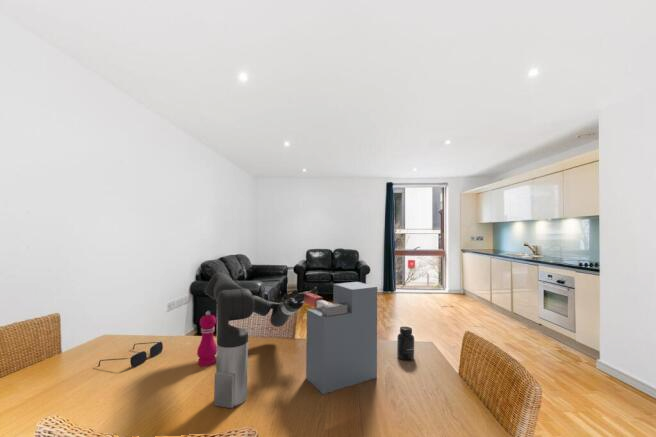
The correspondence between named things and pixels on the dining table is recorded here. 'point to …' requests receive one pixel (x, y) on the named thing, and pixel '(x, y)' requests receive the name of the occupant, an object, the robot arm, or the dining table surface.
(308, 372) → the stand
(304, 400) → the dining table surface
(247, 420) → the dining table surface
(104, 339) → the dining table surface
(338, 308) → the grey red bar
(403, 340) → the supplement bottle
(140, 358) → the sunglasses
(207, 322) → the pepper mill
